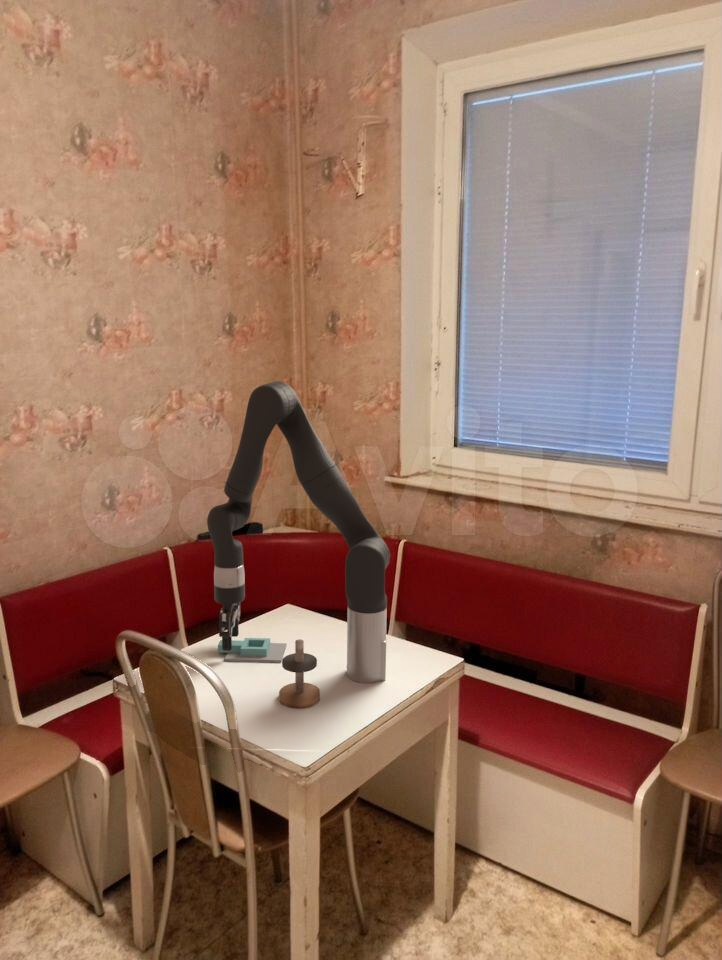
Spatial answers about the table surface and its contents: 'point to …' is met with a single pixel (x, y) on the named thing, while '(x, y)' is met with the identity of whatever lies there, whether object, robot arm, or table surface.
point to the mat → (273, 655)
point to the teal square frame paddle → (248, 647)
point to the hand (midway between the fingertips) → (230, 642)
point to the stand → (299, 679)
